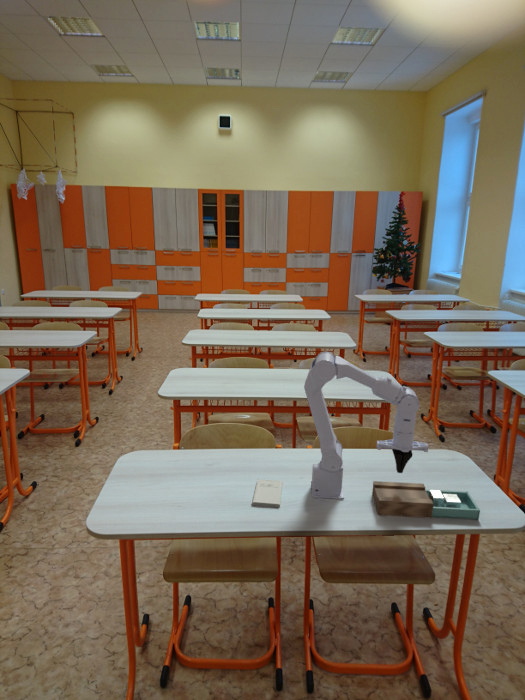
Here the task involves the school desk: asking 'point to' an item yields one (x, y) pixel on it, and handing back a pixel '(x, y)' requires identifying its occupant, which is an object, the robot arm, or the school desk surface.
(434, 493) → the grey square block
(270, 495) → the external hard drive
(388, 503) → the channel block
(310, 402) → the robot arm
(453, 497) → the light grey block
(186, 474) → the school desk surface
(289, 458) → the school desk surface
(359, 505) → the school desk surface
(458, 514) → the tray
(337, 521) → the school desk surface
